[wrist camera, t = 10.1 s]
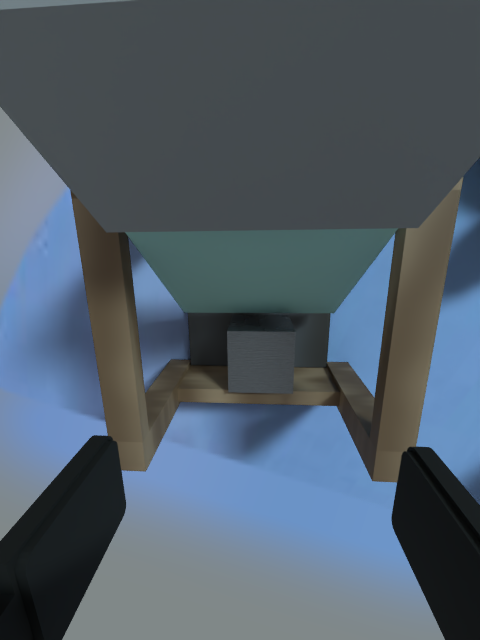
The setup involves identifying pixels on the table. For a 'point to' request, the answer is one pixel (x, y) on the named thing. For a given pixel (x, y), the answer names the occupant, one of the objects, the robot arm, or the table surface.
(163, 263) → the grey and green slab
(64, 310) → the table surface
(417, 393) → the frame
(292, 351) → the block
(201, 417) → the table surface
